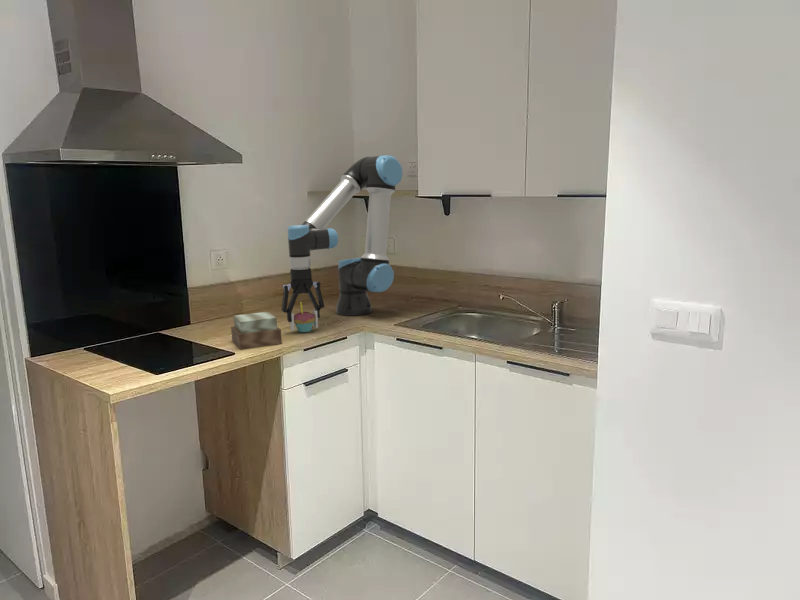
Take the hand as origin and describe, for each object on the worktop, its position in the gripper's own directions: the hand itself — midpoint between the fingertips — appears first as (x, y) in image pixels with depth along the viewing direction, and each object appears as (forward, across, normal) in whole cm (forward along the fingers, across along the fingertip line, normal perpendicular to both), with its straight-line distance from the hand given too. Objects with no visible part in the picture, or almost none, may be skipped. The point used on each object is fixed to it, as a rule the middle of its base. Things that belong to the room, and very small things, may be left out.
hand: (304, 328), depth 214 cm
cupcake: (+1, 0, 0) cm, 1 cm away
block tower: (+1, +19, +6) cm, 20 cm away
